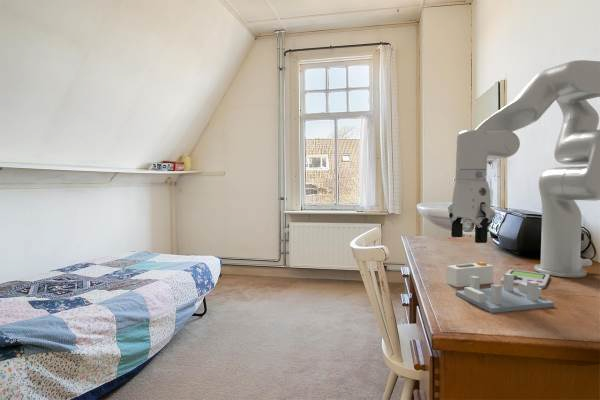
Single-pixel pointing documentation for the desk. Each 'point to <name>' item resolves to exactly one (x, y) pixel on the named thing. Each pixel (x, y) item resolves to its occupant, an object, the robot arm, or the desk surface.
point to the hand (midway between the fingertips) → (468, 239)
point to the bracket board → (505, 295)
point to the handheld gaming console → (528, 277)
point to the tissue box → (469, 273)
